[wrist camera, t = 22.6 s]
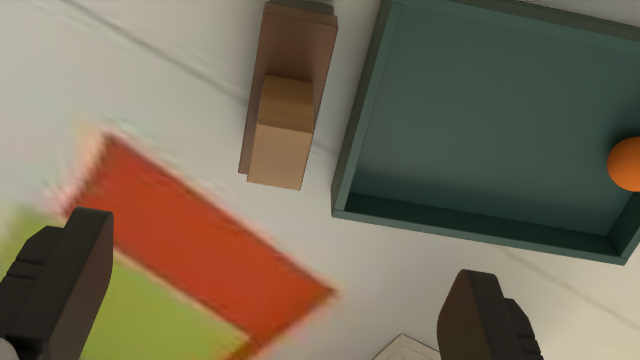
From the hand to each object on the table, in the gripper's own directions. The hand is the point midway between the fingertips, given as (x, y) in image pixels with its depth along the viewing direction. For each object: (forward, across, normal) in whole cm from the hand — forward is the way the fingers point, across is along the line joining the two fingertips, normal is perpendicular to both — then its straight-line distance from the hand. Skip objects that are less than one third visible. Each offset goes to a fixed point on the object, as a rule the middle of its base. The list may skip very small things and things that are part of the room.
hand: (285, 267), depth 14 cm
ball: (+17, -20, +4) cm, 26 cm away
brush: (+19, 0, +5) cm, 20 cm away
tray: (+19, -13, +5) cm, 24 cm away
